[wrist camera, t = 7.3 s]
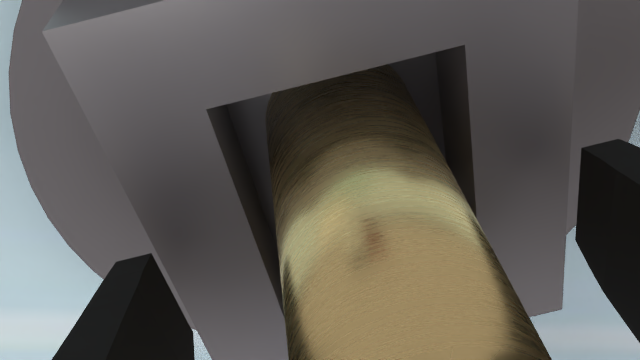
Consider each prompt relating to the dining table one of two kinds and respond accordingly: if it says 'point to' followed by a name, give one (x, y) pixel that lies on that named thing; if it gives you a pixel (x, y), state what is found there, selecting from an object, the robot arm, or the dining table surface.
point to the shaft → (381, 233)
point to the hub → (251, 139)
